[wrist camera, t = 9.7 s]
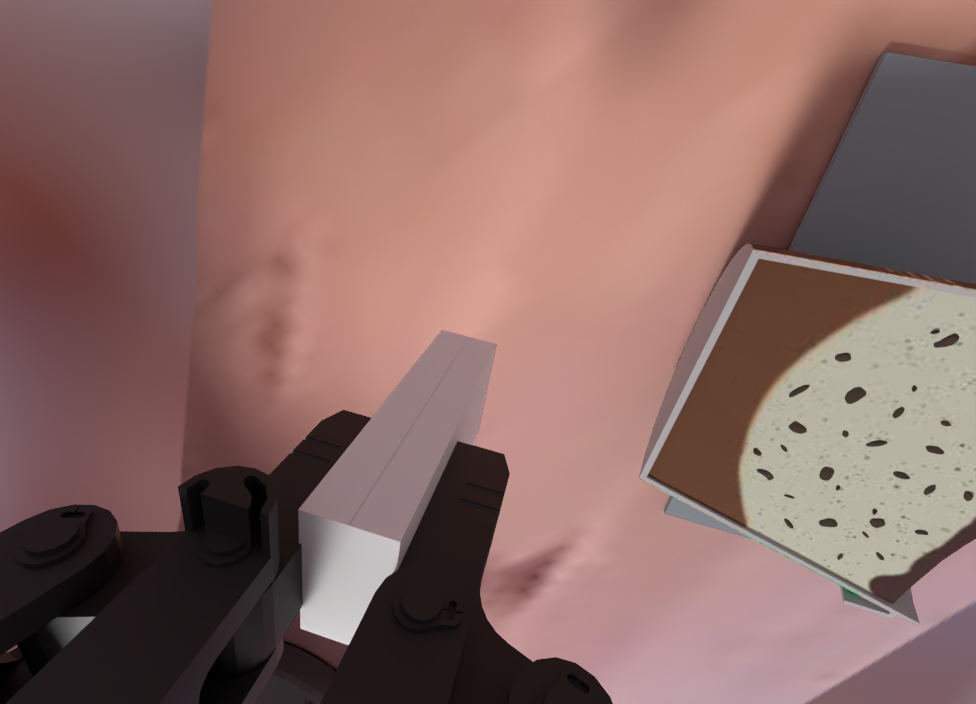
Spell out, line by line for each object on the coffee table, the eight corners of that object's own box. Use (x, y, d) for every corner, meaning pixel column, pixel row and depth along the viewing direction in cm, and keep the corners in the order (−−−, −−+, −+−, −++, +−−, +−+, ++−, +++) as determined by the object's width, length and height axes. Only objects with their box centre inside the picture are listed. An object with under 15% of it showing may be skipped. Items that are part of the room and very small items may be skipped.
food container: (646, 420, 24) (865, 509, 21) (625, 504, 19) (908, 633, 16) (764, 169, 17) (1103, 250, 15) (780, 195, 12) (1298, 325, 10)
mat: (664, 509, 24) (664, 513, 24) (881, 53, 15) (886, 51, 14) (893, 575, 23) (896, 580, 22) (1290, 119, 13) (1303, 119, 13)
